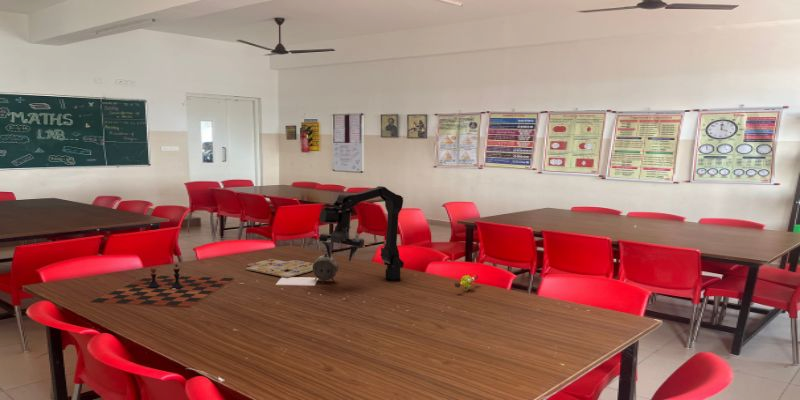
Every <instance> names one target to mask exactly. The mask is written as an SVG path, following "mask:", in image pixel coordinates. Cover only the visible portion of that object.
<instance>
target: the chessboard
mask: <svg viewBox="0 0 800 400" xmlns="http://www.w3.org/2000/svg"><path fill="white" fill-rule="evenodd" d="M174 266H175V267H174V268H173V272H174V274H173V275H157V273H158V272H157V267H150V268H149V270H150V272H151V273H150V275H148V276H146V277H144V278H143V277H142V279H138V280H136V281H135V282H134V281H133V282H132V283H130V284H128V285H127V284H126V285H125V286H122V287H121V288H119V289H116V290H114V291H112V292H110V293H107V294H105V295H103V296H99V297H97V298H96V299H93V300H91V301H90V303H98V304H100V303H101V304H112V305H113V304H114V305H115V304H116V305H118V304H119V305H120V304H121V305H132V306H133V305H134V306H135V305H136V306H150V307H151V306H155V307H156V306H157V307H169V308H170V307H171V308H191V307H193V306H194V305H196V304H198V303H199V302H201V301H203V300H204V299H205V298H208V297H209V296H211V295H212V294H214V293H215V292H217V291H218V290H220V289H221V288H223V287H225V286H226V285H228V284H229V283H231V282H233V281H234V280H235V278H234V277H215V276H213V277H207V276H184V275H183V276H182V275H181V274H180V273H179V272H180V270H181V269H180V268H179V265H178V264H177V263H176V264H174Z"/></svg>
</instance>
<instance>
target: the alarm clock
mask: <svg viewBox="0 0 800 400" xmlns="http://www.w3.org/2000/svg"><path fill="white" fill-rule="evenodd" d="M324 249H326V246H325V247H323V248H322V250H321V252H322V255H320V256H318V257H317V258H316V259H315V261H314V262H313V263H314V264H313V271H312V273H313V275H314V276H315V277H314V278H315V280H316V279H317V278H318V280H321V282H322V284H324V283H325V281H330V280H332V282H334V283H335V279H334V278H335V276H336V274H337V273H338V272H339V271H338V270H339V263H338V262H337V260H336V259H335V258H334V257H333V256H331V258H329V256H328V252H324Z"/></svg>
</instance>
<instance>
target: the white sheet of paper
mask: <svg viewBox="0 0 800 400" xmlns="http://www.w3.org/2000/svg"><path fill="white" fill-rule="evenodd" d="M315 278H316V277H308V276H307V277H306V276H304V277H299V276H298V277H297V276H292V277H288V278H286V277H281V276H280V278H279V280H278V281H277V282H276V284H275V286H301V287H302V286H306V287H308V286H309V287H310V286H311V287H315V286H316V285H317V283H318V280H319V279H318V278H317V279H316V280H315Z"/></svg>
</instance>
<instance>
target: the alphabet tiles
mask: <svg viewBox="0 0 800 400" xmlns="http://www.w3.org/2000/svg"><path fill="white" fill-rule="evenodd" d="M313 264H314V262H307V261H302V260H299V259H298V260H297V259H293V260H288V261H285V260H279V259H275V258H274V259H273V258H270V259H266V260H261V261H257V262H252V263H247V267H246V269H245V270H246V271H251V272H255V273H256V272H257V273H262V274H267V275H271V276H276V277H280V278H281V277H286V278H288V277H296V276H298V275H303V274H306V273H309V272H313Z"/></svg>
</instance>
